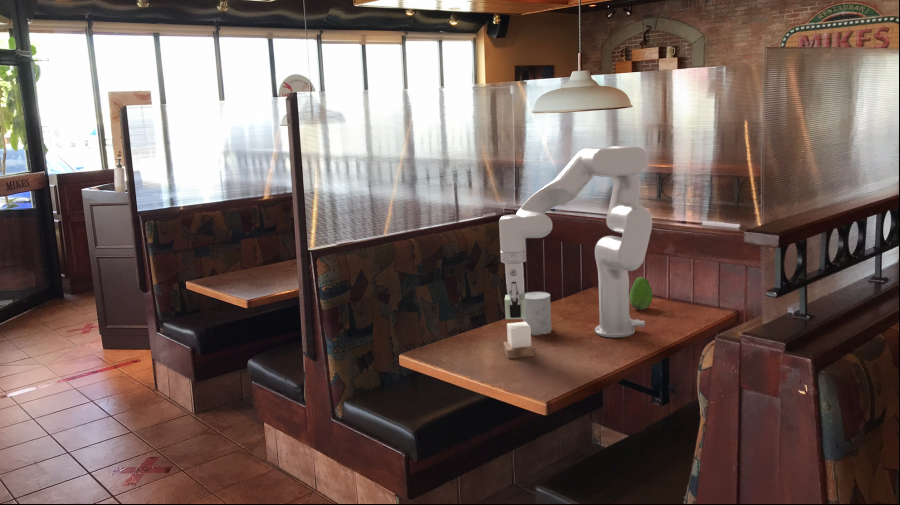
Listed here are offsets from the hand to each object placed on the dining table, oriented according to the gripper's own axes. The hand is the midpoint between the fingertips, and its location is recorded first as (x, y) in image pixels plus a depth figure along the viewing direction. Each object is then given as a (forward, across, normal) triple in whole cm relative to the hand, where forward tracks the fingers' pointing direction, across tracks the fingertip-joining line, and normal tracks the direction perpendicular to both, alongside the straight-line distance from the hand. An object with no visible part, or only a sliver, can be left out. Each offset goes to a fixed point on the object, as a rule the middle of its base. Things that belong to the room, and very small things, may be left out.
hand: (515, 313), depth 221 cm
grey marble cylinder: (+13, +21, -6) cm, 25 cm away
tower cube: (+10, 0, -1) cm, 10 cm away
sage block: (+1, 0, 0) cm, 1 cm away
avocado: (+12, +42, -43) cm, 62 cm away
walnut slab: (+13, 0, 0) cm, 13 cm away
